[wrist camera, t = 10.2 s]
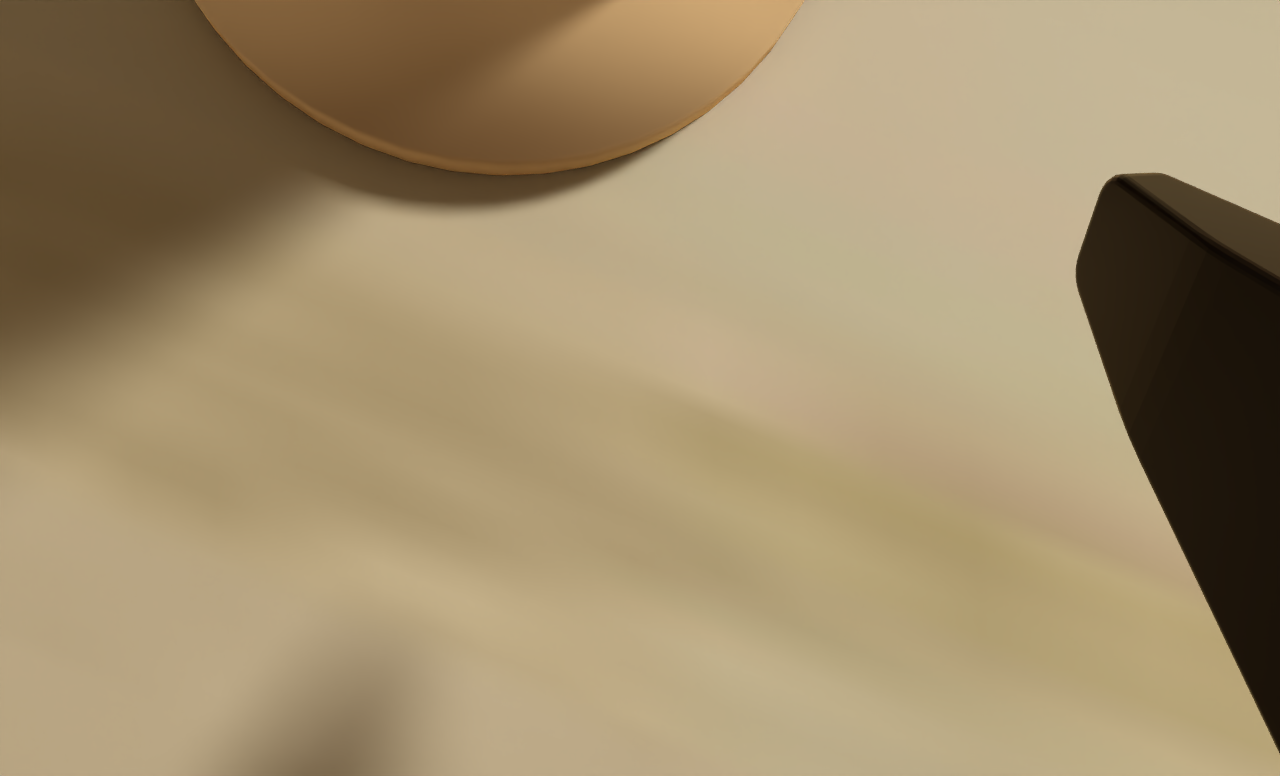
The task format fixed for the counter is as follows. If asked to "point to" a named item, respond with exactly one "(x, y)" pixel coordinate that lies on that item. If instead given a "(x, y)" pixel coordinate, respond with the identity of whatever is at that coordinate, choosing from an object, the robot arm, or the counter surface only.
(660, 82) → the cork trivet
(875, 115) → the counter surface
